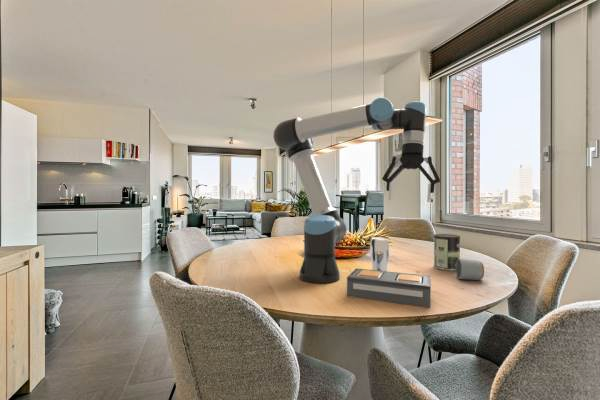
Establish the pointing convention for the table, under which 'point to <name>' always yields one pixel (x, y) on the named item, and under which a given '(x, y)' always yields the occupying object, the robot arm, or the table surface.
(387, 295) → the switch console
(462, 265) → the grey cylinder
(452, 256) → the coffee can
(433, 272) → the table surface
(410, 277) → the right switch
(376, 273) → the left switch
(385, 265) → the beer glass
